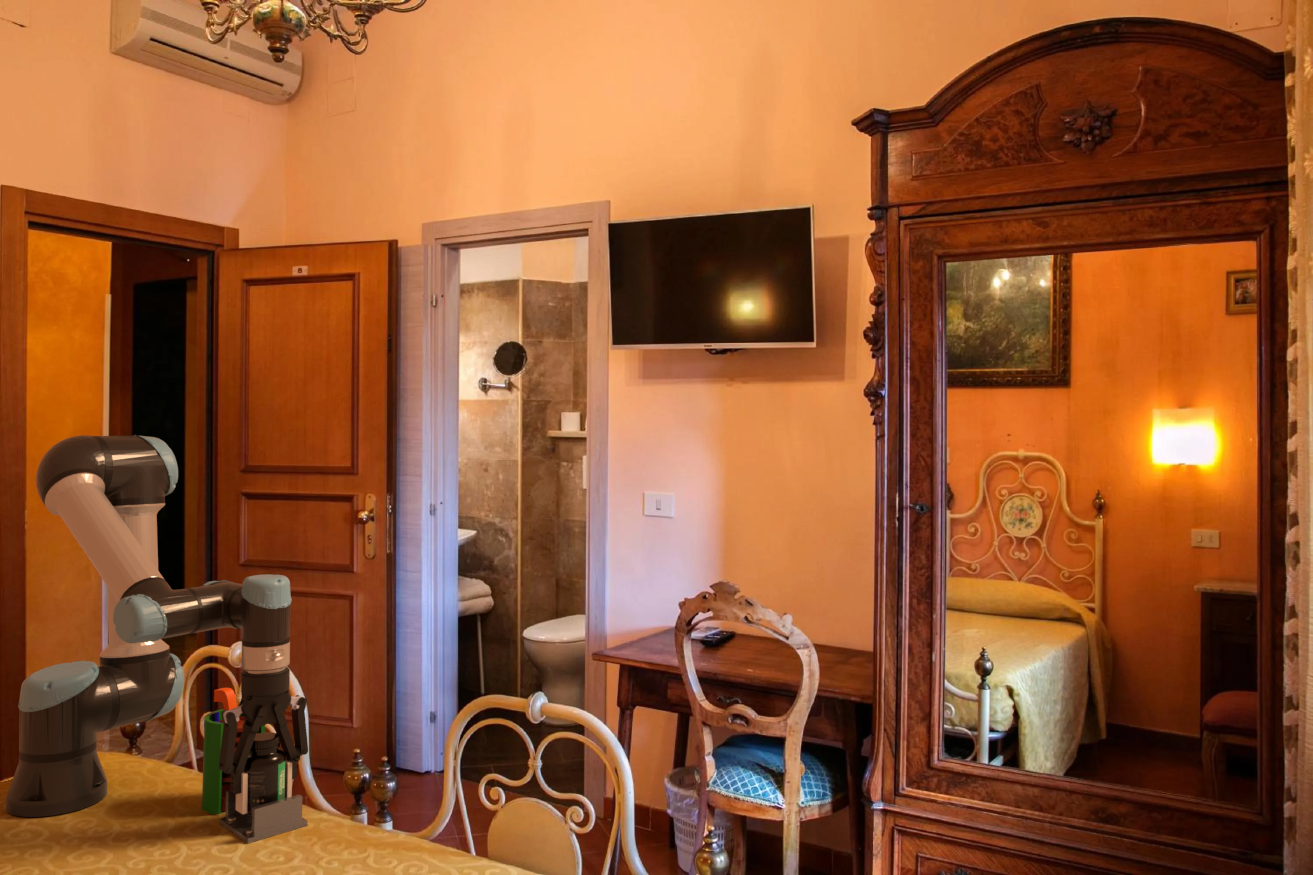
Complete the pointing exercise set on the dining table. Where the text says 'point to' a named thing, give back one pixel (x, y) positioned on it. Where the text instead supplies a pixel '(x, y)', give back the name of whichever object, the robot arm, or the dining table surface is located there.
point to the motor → (218, 753)
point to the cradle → (263, 818)
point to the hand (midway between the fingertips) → (263, 804)
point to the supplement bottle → (265, 771)
